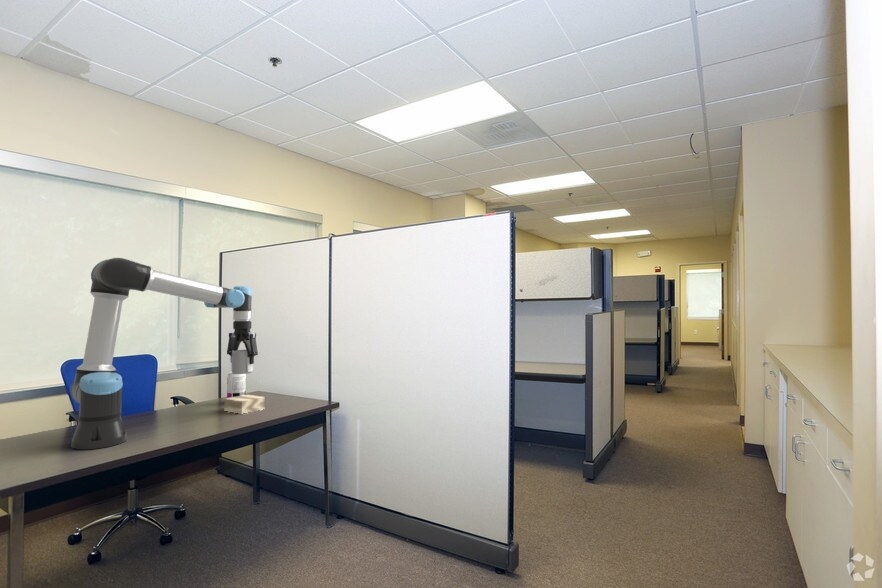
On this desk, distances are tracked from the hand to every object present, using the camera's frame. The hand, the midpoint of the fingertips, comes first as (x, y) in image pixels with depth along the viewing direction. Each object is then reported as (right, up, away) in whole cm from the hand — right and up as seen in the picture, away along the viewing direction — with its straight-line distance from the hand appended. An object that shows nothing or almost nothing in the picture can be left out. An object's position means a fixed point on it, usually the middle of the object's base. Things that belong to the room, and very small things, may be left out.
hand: (242, 370), depth 204 cm
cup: (0, -1, 0) cm, 1 cm away
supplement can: (-11, -19, +18) cm, 28 cm away
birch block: (0, -19, +2) cm, 19 cm away
